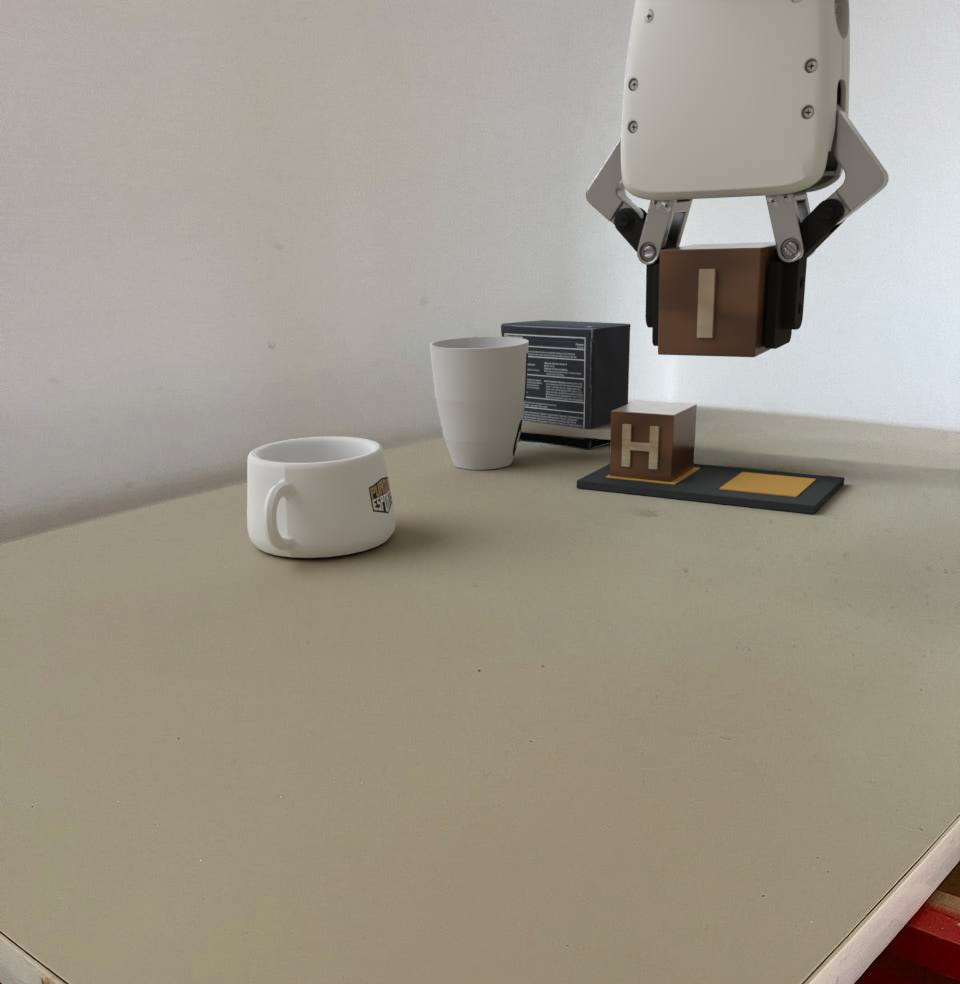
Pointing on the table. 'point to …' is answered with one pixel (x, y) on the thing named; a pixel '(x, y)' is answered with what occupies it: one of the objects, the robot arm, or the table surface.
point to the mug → (318, 497)
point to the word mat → (728, 487)
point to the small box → (573, 375)
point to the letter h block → (652, 440)
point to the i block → (713, 299)
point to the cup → (480, 398)
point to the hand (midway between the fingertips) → (721, 340)
